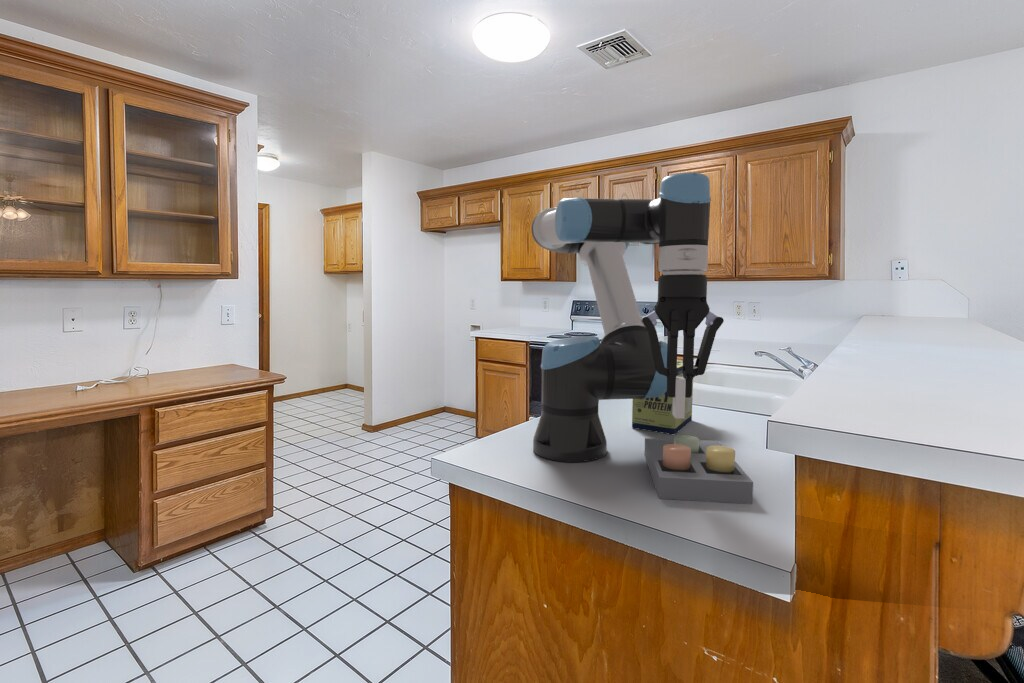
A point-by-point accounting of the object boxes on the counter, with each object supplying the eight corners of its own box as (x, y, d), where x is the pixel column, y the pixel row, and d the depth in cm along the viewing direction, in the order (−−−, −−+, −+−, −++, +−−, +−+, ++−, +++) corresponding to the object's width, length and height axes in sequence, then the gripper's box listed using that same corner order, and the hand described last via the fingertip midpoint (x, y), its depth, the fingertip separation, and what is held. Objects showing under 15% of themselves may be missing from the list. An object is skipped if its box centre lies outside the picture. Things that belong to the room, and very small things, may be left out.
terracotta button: (664, 469, 82) (665, 451, 82) (661, 460, 86) (661, 443, 86) (692, 470, 81) (693, 452, 81) (687, 461, 85) (688, 444, 85)
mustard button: (709, 471, 81) (710, 453, 80) (703, 461, 85) (703, 444, 85) (737, 472, 80) (738, 454, 80) (730, 463, 84) (731, 446, 84)
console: (659, 498, 79) (659, 477, 79) (644, 455, 100) (644, 438, 99) (752, 503, 77) (753, 482, 77) (717, 458, 98) (718, 440, 97)
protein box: (631, 428, 119) (632, 364, 117) (652, 414, 132) (653, 356, 130) (675, 435, 113) (677, 368, 111) (692, 420, 126) (694, 359, 124)
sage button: (676, 457, 91) (676, 441, 91) (672, 449, 96) (672, 434, 95) (701, 458, 91) (701, 442, 90) (695, 450, 95) (696, 435, 95)
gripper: (643, 273, 78) (640, 420, 80) (731, 272, 76) (725, 423, 78) (638, 274, 85) (636, 409, 87) (718, 274, 83) (713, 412, 85)
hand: (678, 416), depth 83 cm, fingers closed
